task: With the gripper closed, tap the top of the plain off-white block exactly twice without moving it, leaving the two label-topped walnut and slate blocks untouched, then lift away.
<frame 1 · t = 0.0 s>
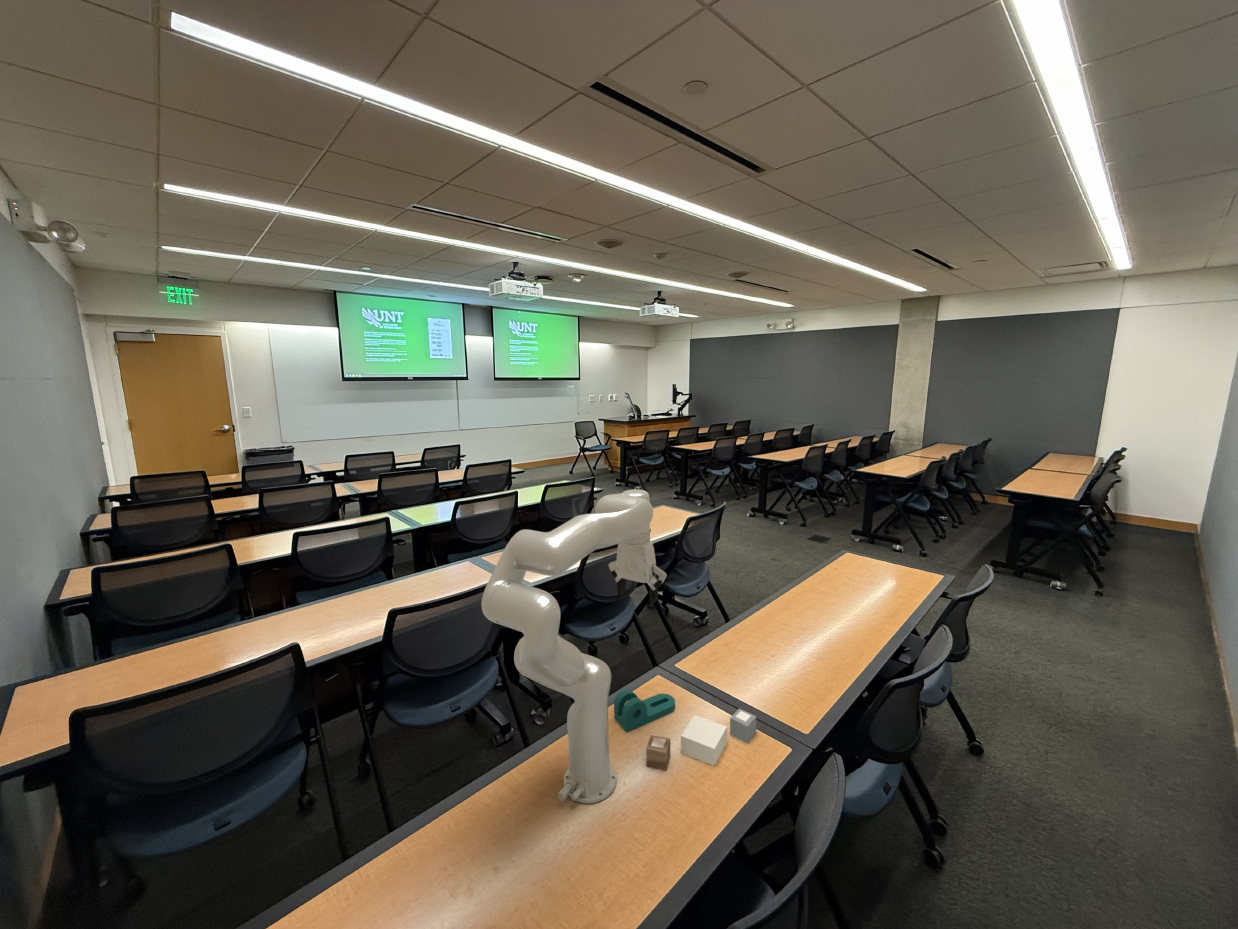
hand: (637, 598, 128), 37 cm above the table, tool pointing down, fingers open, 9 cm apart
bracket: (647, 715, 137), on the table
walnut block: (658, 761, 119), on the table
slate block: (743, 734, 128), on the table
plain block: (704, 748, 124), on the table
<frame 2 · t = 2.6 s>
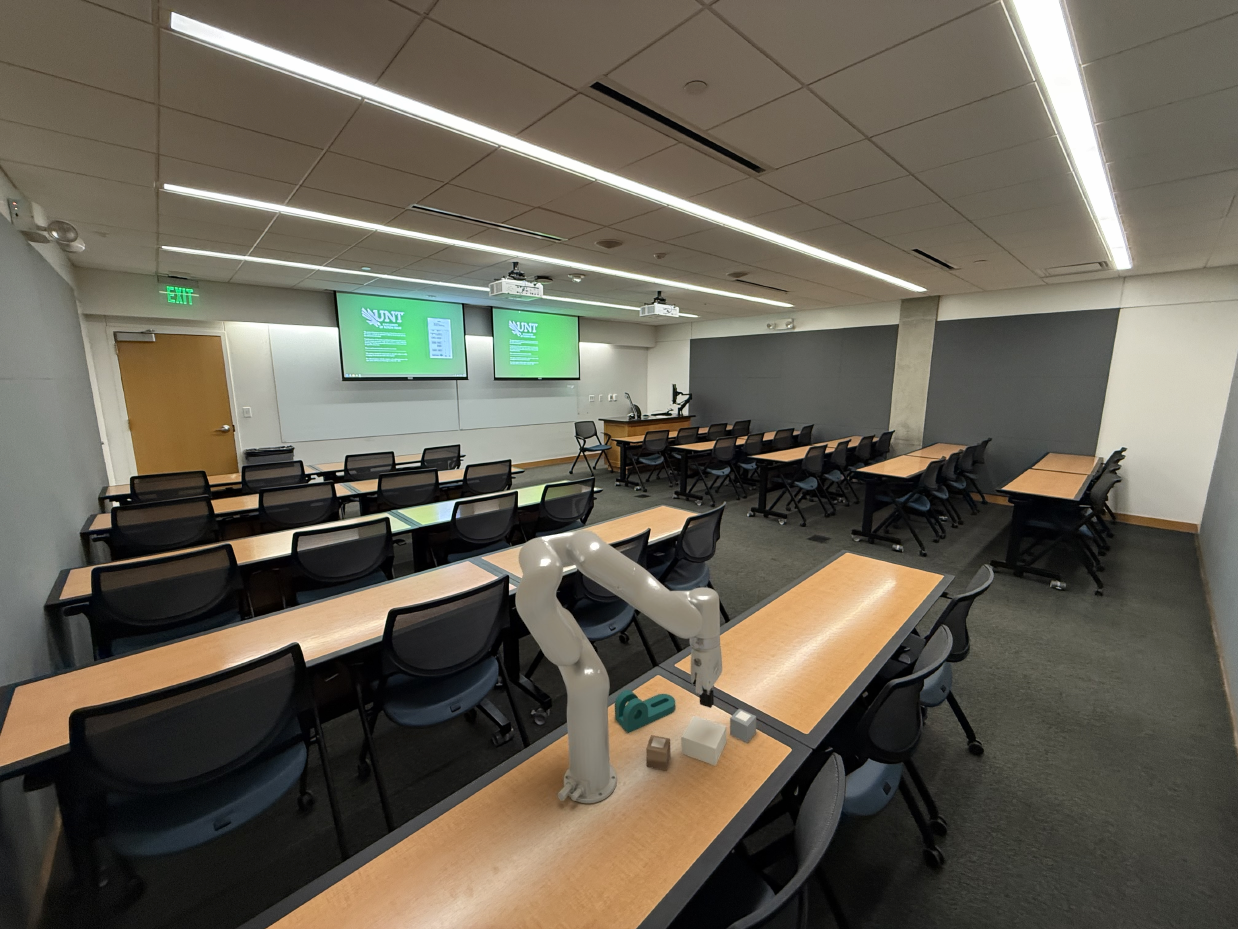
hand: (706, 704, 122), 12 cm above the table, tool pointing down, fingers closed
nothing on the table moved.
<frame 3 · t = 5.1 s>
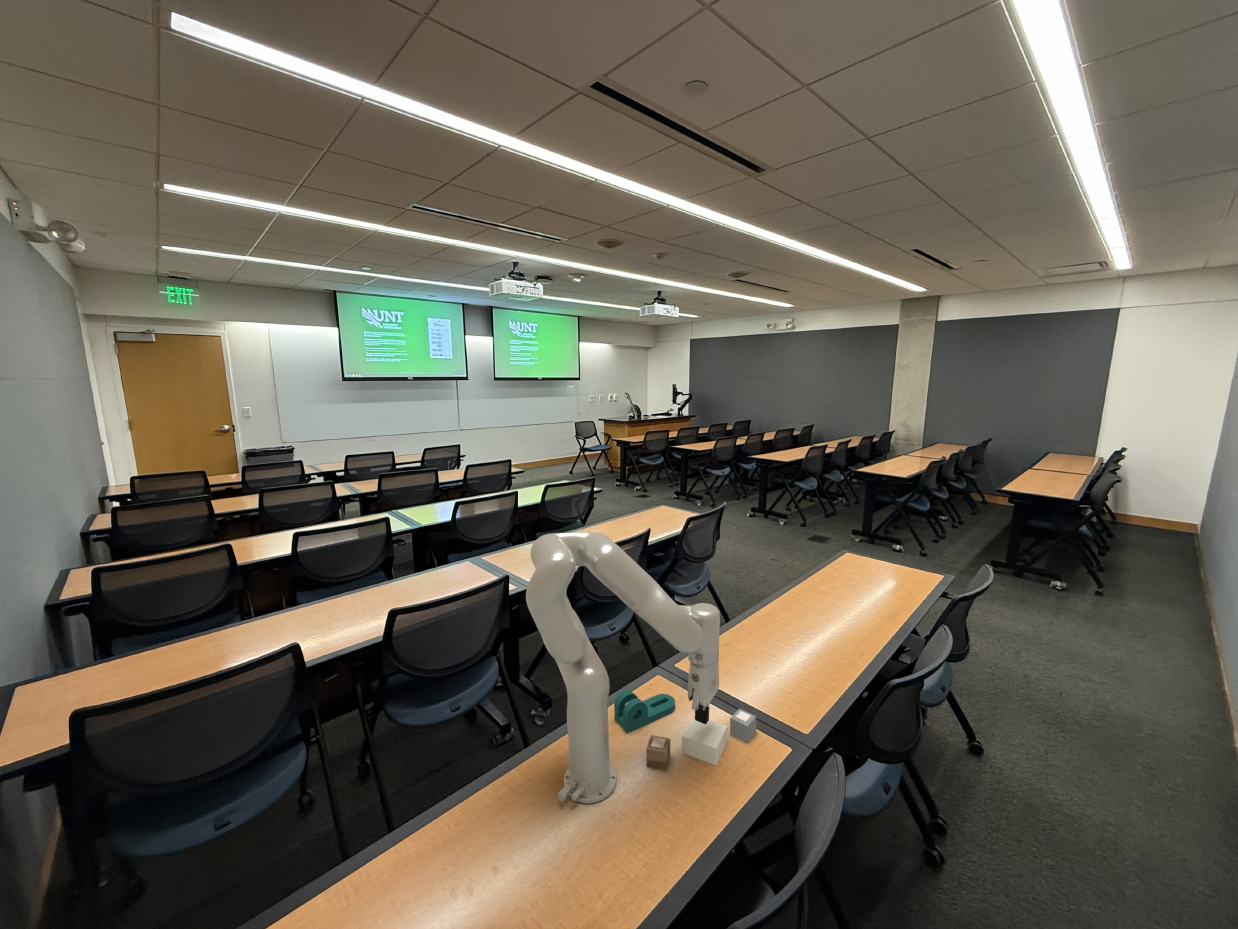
hand: (701, 720, 122), 8 cm above the table, tool pointing down, fingers closed
nothing on the table moved.
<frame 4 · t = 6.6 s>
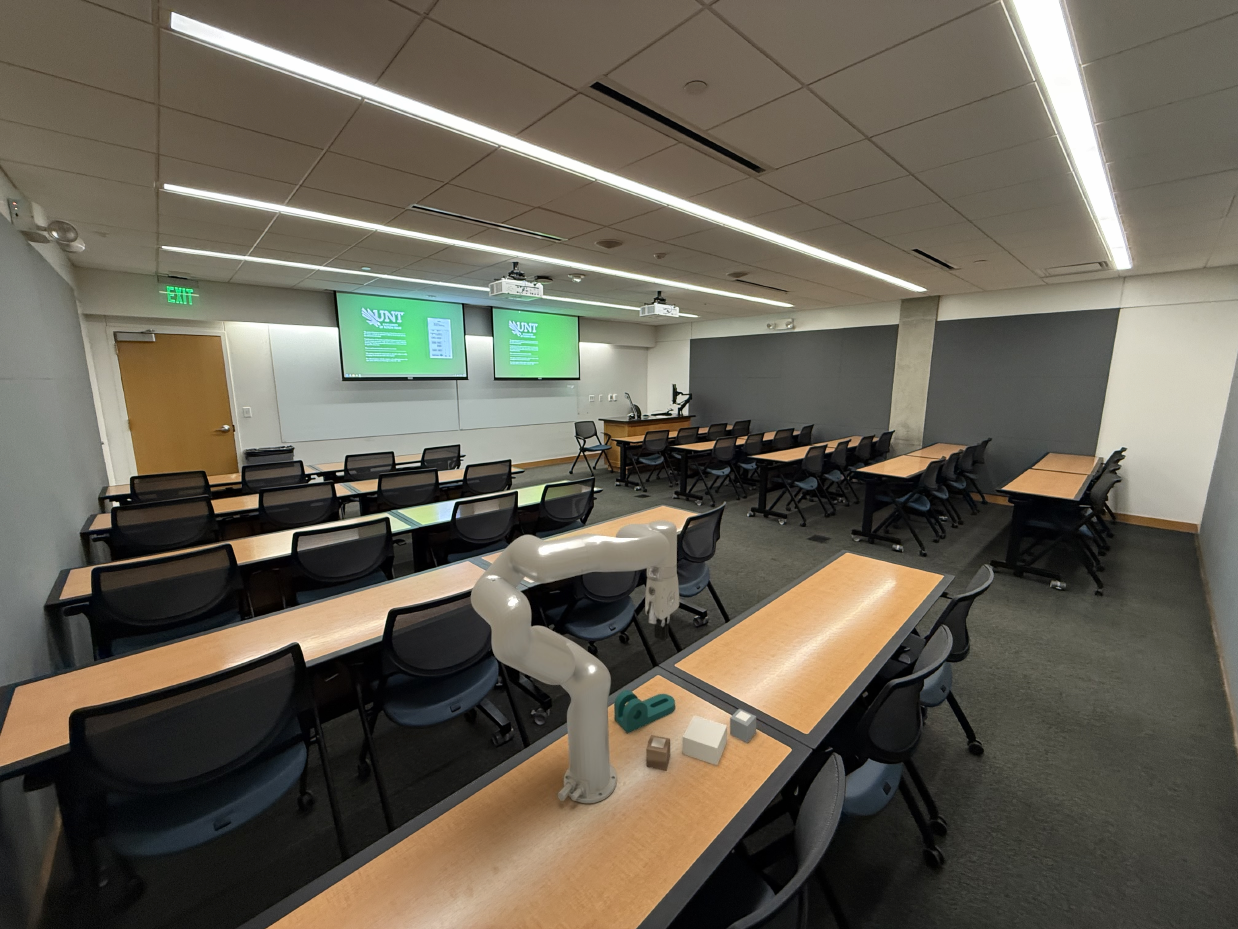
hand: (661, 638, 123), 28 cm above the table, tool pointing down, fingers closed
nothing on the table moved.
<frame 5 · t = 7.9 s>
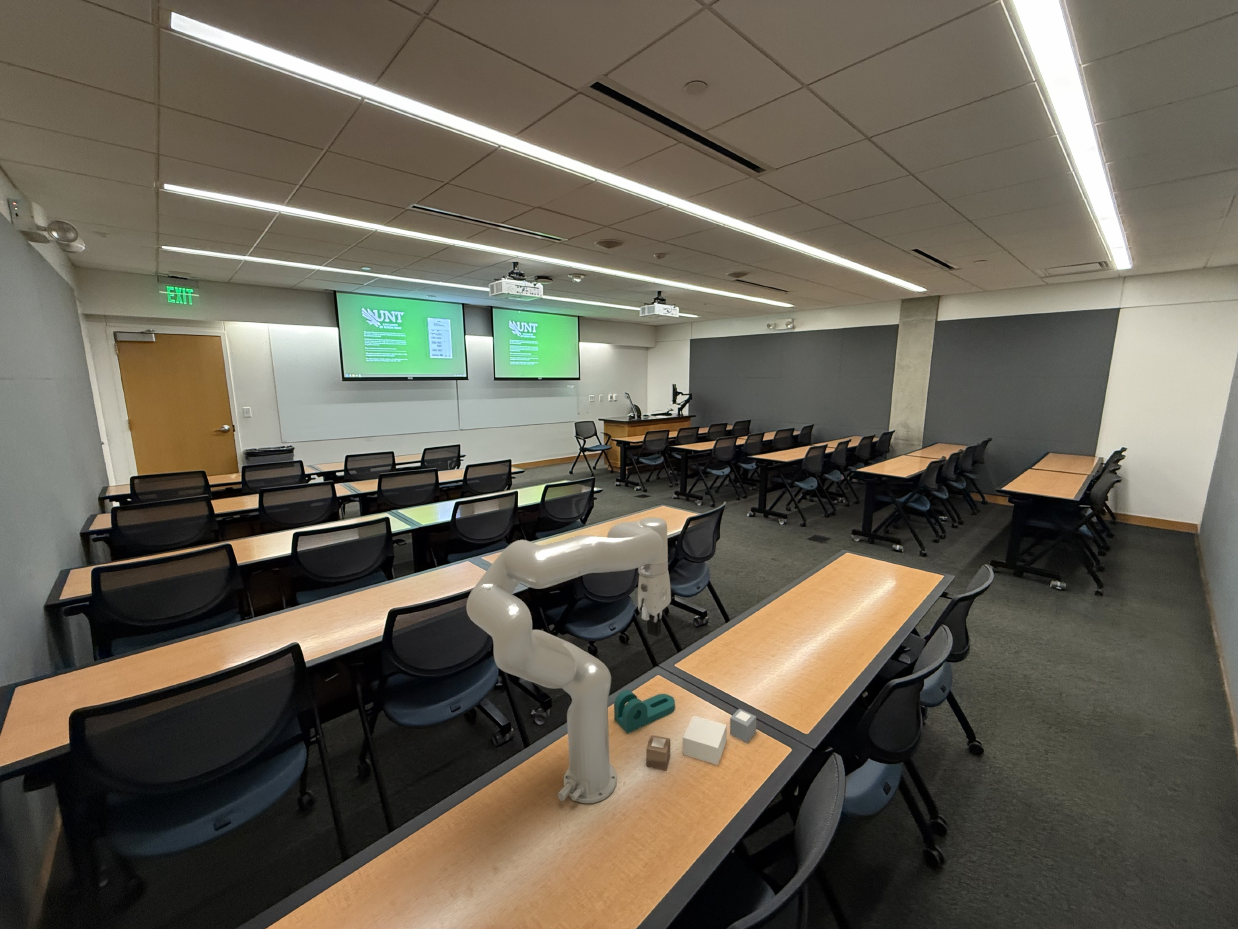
hand: (654, 633, 124), 29 cm above the table, tool pointing down, fingers closed
nothing on the table moved.
at the end: plain block moved 0.4 cm from its start; plain block tilted 0°; slate block moved 0.1 cm from its start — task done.
